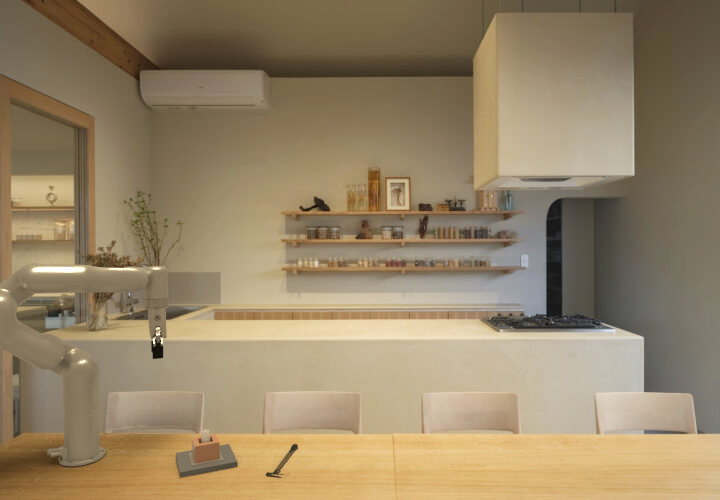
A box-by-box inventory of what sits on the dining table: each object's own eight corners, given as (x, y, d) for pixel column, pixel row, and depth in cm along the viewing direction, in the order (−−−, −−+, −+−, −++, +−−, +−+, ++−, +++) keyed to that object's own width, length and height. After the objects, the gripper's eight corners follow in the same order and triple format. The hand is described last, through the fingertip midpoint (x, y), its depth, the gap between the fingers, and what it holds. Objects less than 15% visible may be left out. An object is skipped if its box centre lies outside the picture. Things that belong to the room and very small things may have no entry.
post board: (180, 477, 143) (179, 444, 143) (175, 457, 156) (175, 427, 156) (237, 466, 150) (237, 434, 150) (229, 448, 163) (228, 418, 162)
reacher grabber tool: (286, 482, 142) (287, 478, 142) (264, 478, 144) (265, 474, 144) (312, 450, 163) (312, 446, 163) (292, 446, 164) (292, 443, 164)
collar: (195, 463, 148) (194, 446, 148) (192, 454, 155) (191, 437, 155) (219, 458, 151) (219, 442, 151) (215, 449, 158) (215, 433, 157)
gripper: (170, 306, 162) (171, 359, 163) (166, 299, 178) (167, 348, 178) (144, 307, 159) (145, 362, 160) (143, 301, 175) (144, 350, 175)
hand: (157, 355), depth 169 cm, fingers open, 9 cm apart
